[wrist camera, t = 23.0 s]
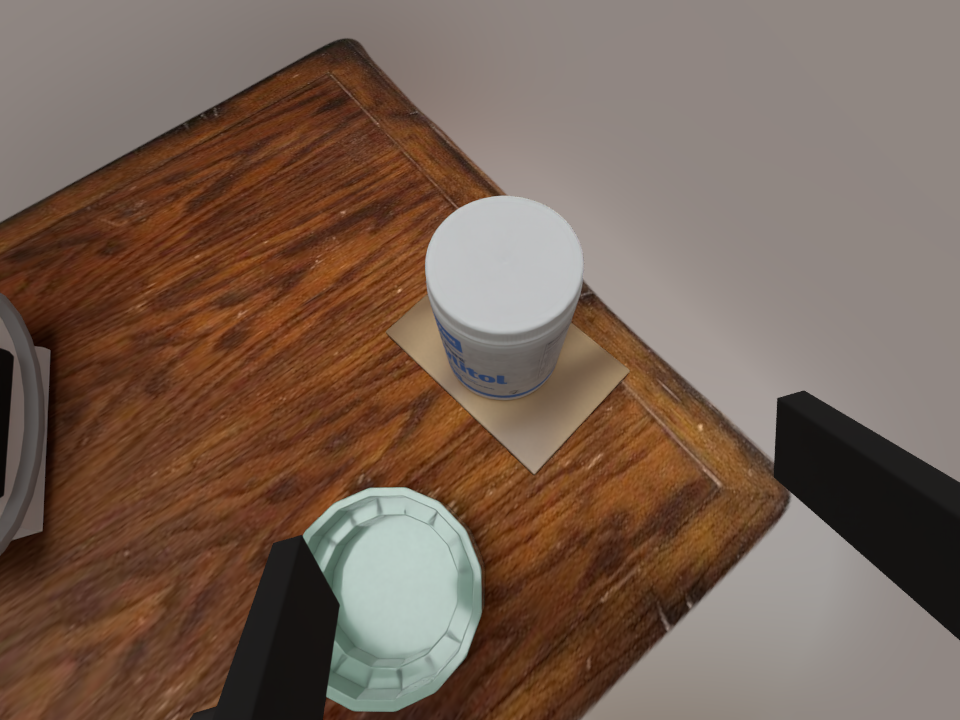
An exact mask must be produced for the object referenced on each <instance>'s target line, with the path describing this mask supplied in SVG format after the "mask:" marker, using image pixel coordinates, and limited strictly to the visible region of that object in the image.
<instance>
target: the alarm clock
mask: <svg viewBox="0 0 960 720" xmlns="http://www.w3.org/2000/svg"><path fill="white" fill-rule="evenodd" d="M50 351H51V350H49V349H47V348H44V347H37V346H34V344H33V340H32V338H31V335H30V333H29V331H28V329H27V327H26V325H25V323H24V321H23V319H22V317H21V315H20V314H19V312H18V311H17V310H16V309H15V307H14V306H13V305H12V303H11V302H10V301H9V300H8V298H7V297H6V296H4V295H3V294H1V293H0V555H1V554H2V553H3V552H4V551H5V549H6V548H7V546H8V545H9V543H10V542H11V540H14V539H18V538H21V537H25V536H28V535H31V534H35V533H38V532H42V531H43V511H44V489H45V466H46V443H47V420H48V397H49V374H50Z"/></svg>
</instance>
